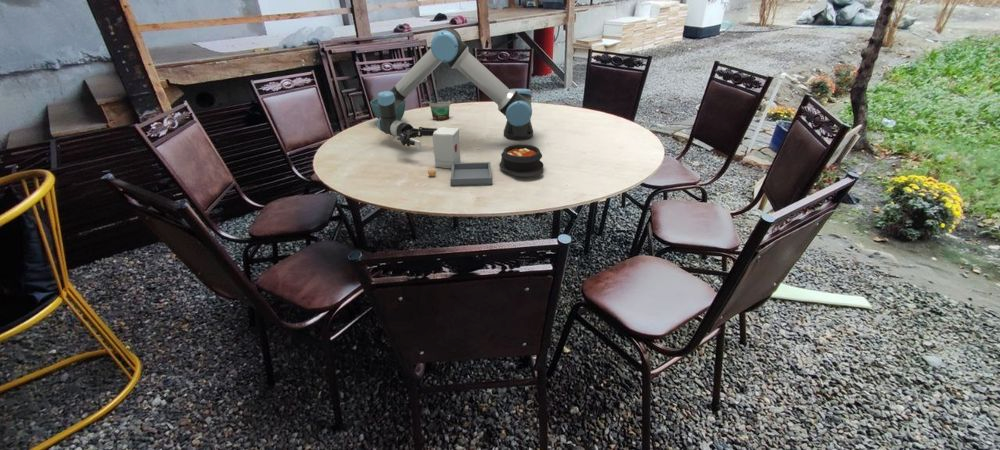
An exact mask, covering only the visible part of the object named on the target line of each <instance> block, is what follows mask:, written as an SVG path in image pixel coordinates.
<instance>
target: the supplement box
mask: <svg viewBox="0 0 1000 450" xmlns="http://www.w3.org/2000/svg"><path fill="white" fill-rule="evenodd" d="M436 129H437V130H436V131H435V132H434V133H433V136H432V141H433V153H434V154H433V155H434V167H435V168H442V169H443V168H444V169H451V168H452V163H461V146H460V143H461V142H460V128H457V127H444V126H439V127H438V128H436Z"/></svg>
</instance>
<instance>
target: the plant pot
mask: <svg viewBox="0 0 1000 450" xmlns="http://www.w3.org/2000/svg"><path fill="white" fill-rule="evenodd" d="M370 106H371V109H372V111H373V113H374V116H375V117H376V118H377V121H378V120H379V118H380V110H379V104H378V98H375V99H373V100H371V101H370ZM405 111H406V98H405V99H404V100H403V102H402V103H401V104H400V105H399V106H398V107H397V108H396V113H397V120H398V121H401V122H402V120H403V117H404V115H405Z"/></svg>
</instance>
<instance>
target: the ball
mask: <svg viewBox="0 0 1000 450" xmlns="http://www.w3.org/2000/svg"><path fill="white" fill-rule="evenodd" d="M436 174H437V171H436V169H434V168H429V169H428V170H427V175H428V176H429V177H434V176H436Z"/></svg>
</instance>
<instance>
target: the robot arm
mask: <svg viewBox="0 0 1000 450" xmlns="http://www.w3.org/2000/svg"><path fill="white" fill-rule="evenodd" d="M441 63H445V64H446V66H448V67H449V68H451V69H457V70H458V71H459V72H460V73H461V74H462V75H464V77H466V78H467V79H468V80H470V82H472V83H473V85H474V86H476V87H477V88H478V89H479V90H480V91H482V92H483V93H484V94H485V95H486V96H487V97H488V98H490V99H491V100H492V101H493V102H494V103H495V104H496V105H497V109H498V111H499V112H500V113H501V114H502V115H503V116H505V118H506V123H505V126H504V128H503V138H506V139H508V140H512V141H525V140H531V139H532V138H534V133H535V132H534V128H533V124H532V122H531V120H532V119H531V118H532V116H533V108H532V107H533V106H532V90H531V89H529V88H510V89H509V87H508V86H507V85H506V84H504V83H503V82H502V81H501V80H500V79H499V78H498V77H497V76H495V75H494V74H493V73H492V72H491V71H490V70H489V69H488V68H487V67H486V66H485V65H483V64H482V63H481V62H480V60H478V59H477V58H476V57H475V56H474V55H472V53H471V52H470V49H469V46H468V45H467V44H466V43H465V42H464V41H463V40H462V37H461V35H460V33H459V31H457V30H456V29H454V28H452V27H445V28H442V29H441V30H439V31H437V32H435V34H434V35H433V36H432V39H431V40H430V47H429V49H428V50H427V52H425V53H424V54H423V55H422V56H421V58H420V59H419V60H418V61H417V62H416V63H415V64H414V65H413V66H412V67H411V68H410V69H409V70H408V71H407V72H406V74H404V76H403V77H401V79H400V80H398V82H397V83H396V84H395V85H394V86H393V87H392V88H391V89H390V90H389V91H388V90H385V91H380V92H378V93H377V99H378V104H379V110H380V118H379V120H378V119H377V123H376V125H377V126H376V127H377V128H378V130H380V132H382V133H384V134H386V135H391V136H393V137H397V140H398V141H399V142H400V143H401V145H402V146H407V148H408V147H411V146H413V147H415V148H418V149H421V148H422V143H421V141H419V140H417V139H414V138H422V137H433V133H434V132H435V131H436V130H437V129H438V128H436V127H435V128H433V127H424V126H418V128H415V127H413V126H412V124H410V123H406V122H404V121H402V120H401V121H398V120H397V113H396V108H397V107H398V106H399V105H400V104H401V103H402V102H403V100H404V99H405V100H406V99H407V98H408V96H409V95H410V94H412V92H413V91H414V90H415V89H417V87H418V86H419V85H420V84H421V83H422V82H424V80H426V78H427V77H428V76H429V75H430V74H431V73H432V72H434V70H435V69H437V67H438V66H439V65H440V64H441Z"/></svg>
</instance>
